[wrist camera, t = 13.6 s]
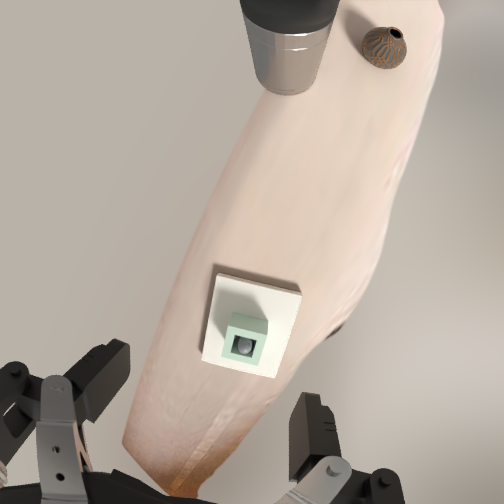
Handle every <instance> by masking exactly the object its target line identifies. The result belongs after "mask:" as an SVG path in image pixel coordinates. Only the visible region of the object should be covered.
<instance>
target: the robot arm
mask: <svg viewBox="0 0 504 504" xmlns="http://www.w3.org/2000/svg"><path fill="white" fill-rule="evenodd" d="M339 1H340V0H240V4H241V8H242V13H243V17H244V21H245V25H246V29H247V34H248V38H249V43H250V48H251V52H252V57H253V62H254V67H255V71H256V75H257V78H258V80H259V82H260V83H261V84H262V85H263V87H265V88H266V89H267V90H269V91H271V92H273V93H276V94H280V95H295V94H299V93H301V92H304V91H305V90H307V89H308V88H309V87H310V86H311V85H312V84H313V82H314V80H315V78H316V74H317V71H318V69H319V65H320V62H321V59H322V56H323V53H324V50H325V46H326V43H327V40H328V37H329V34H330V31H331V27H332V24H333V21H334V17H335V15H336V11H337V8H338V4H339ZM129 373H130V346H129V344H127V343H125V342H122V341H120V340H117V339H112V340H111V341H110V342H109V343H108V344H107V345H106V346H105V345H103V344H101V345H99V346H96V347H94V348H92V349H91V350H90V351H89V352H88V353H87V355H85V356H84V357H82V359H80V360H79V361H78V362H77V363H76V364H75V365H74V366H73V367H71V368H70V369H69V370H68V371H67V372H66V373H65V374H64V375H63V376H60V375H51V376H48V377H47V378H45V379H42V378H39V377H36V376H33V375H30V374H29V370H28V368H27V366H26V365H25V364H23V363H21V362H18V361H14V362H9V363H7V364H6V365H5V366H4V367H2V368H1V369H0V504H216V503H212V502H207V501H203V500H199V499H193V498H181V497H172V496H165V495H163V494H161V493H160V492H158V491H156V490H155V489H153V488H151V487H150V486H148V485H146V484H145V483H143V482H141V481H140V480H139V479H136V478H134V477H131V476H129V475H127V474H124V473H122V472H120V471H118V470H116V469H113V471H112V473H111V474H110V473H105V472H93V469H92V466H91V463H90V459H89V455H88V451H87V446H86V441H85V435H84V428H83V422H84V421H85V420H86V419H87V420H89V421H91V422H92V423H94V422H95V421H96V420H97V418H98V417H99V416H100V415H101V413H102V412H103V411H104V409H105V408H106V407H107V405H108V404H109V403H110V401H111V400H112V399H113V397H114V396H115V395H116V393H117V392H118V391H119V390H120V388H121V387H122V386H123V384H124V383H125V382H126V380H127V379H128V377H129ZM14 402H15V404H14V405H13V407H12V408H11V409H10V410H9V411H8V412H7V413H6V414H5V415H4V413H5V412H6V410H7V409H8V408H9V407H10V406H11V405H12V404H13V403H14ZM3 415H4V416H3ZM35 427H36V444H37V458H38V469H39V477H40V482H39V483H33V484H26V485H18V486H8V487H4V485H5V484H6V483H7V470H6V466H7V464H8V463H9V461H10V460H11V459H12V457H13V456H14V455H15V453H16V452H17V451H18V449H19V448H20V447H21V445H22V444H23V443H24V441H25V440H26V439H27V438H28V436H29V435H30V434H31V433H32V431H33V430H34V429H35ZM289 482H297V485H296V486H295V487H294V488H293V489H292V490H291V491H289V492H288V493H286V494H285V495H284V496H283V497H282V498H281V499H280V500H279V501H277V502H276V503H275V504H405V501H404V496H403V492H402V487H401V483H400V479H399V477H398V475H397V474H396V473H395V472H394V471H392V470H390V469H386V468H381V469H377V470H376V471H374V472H373V473H372V474H368V473H364V472H360V471H356V470H354V469H352V468H351V466H350V464H349V463H348V462H347V461H346V460H345V459H343V458H342V457H341V450H340V445H339V440H338V435H337V432H336V425H335V419H334V415H333V413H332V411H331V410H330V409H329V407H328V406H323V405H321V400H320V395H319V394H314V393H307V392H302V394H301V395H300V397H299V400H298V402H297V404H296V406H295V408H294V410H293V412H292V414H291V417H290V421H289Z"/></svg>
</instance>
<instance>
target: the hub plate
mask: <svg viewBox="0 0 504 504" xmlns="http://www.w3.org/2000/svg"><path fill="white" fill-rule="evenodd" d="M301 299H302V293H301V292H297V291H293V290H288V289H284V288H280V287H275V286H271V285H267V284H263V283H259V282H255V281H251V280H246V279H242V278H238V277H234V276H230V275H226V274H222V273H218V274H217V277H216V282H215V287H214V292H213V298H212V303H211V308H210V314H209V319H208V325H207V330H206V336H205V342H204V348H203V353H202V359H201V360H202V361H205V362H209V363H212V364H216V365H220V366H223V367H227V368H231V369H235V370H239V371H244V372H248V373H252V374H257V375H261V376H266V377H271V378H275V376H276V373H277V371H278V368H279V365H280V362H281V359H282V357H283V354H284V351H285V348H286V345H287V342H288V339H289V336H290V333H291V330H292V327H293V324H294V321H295V318H296V315H297V312H298V309H299V305H300V302H301ZM233 312H235V313H238V314H242V315H246V316H250V317H254V318H258V319H262V320H267V321H269V323H268V334H267V338H266V342H265V345H264V348H263V351H262V354H261V358H260V361H259V364H258V366H256V365H252V364H248V363H243V362H239V361H235V360H231V359H228V358H224V357H221V355H222V350H223V346H224V341H225V337H226V332H227V328H228V324H229V322H230V319H231V316H232V314H233ZM235 338H238V339H239V343H238V350H239V352H240V353H243V354H247V353H249V352H250V351H251V348H252V343H253V342H255V340H254V339H250V338H246V337H242V336H238V335H235Z"/></svg>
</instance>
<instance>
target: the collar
mask: <svg viewBox="0 0 504 504" xmlns="http://www.w3.org/2000/svg"><path fill="white" fill-rule="evenodd" d="M268 323H269V321H267V320H262V319H258V318H254V317H250V316H246V315H242V314H238V313H235V312H233V314H232V316H231V319H230V322H229V324H228V328H227V332H226V337H225V341H224V346H223V350H222V355H221V357H224V358H228V359H231V360H235V361H239V362H243V363H248V364H252V365H256V366H258V364H259V361H260V358H261V354H262V351H263V348H264V345H265V342H266V338H267V334H268ZM235 335H238V336H242V337H246V338H250V339H254V340H255V342H253V343H252V348H251V351H250V352H249V353H247V354H243V353H240V352H239V350H238V343H239V339H238V338H235Z"/></svg>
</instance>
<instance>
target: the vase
mask: <svg viewBox="0 0 504 504" xmlns="http://www.w3.org/2000/svg"><path fill="white" fill-rule="evenodd" d="M362 50H363V53H364V56H365V57H366V59H367V60H368V61H369V62H370V63H371V64H373V65H374V66H376V67H378V68H382V69H391V68H395V67H397V66H398V65H400V64H401V63H402V62H403V60H404V59H405V56H406V52H407V47H406V43H405V41H404V39H403V34H402V32H401V31H400V30H399V29H397V28H395V27H389V28H387V27H377V28H374V29H372V30H371V31H369V32H368V33H367V34H366V35H365V37H364V39H363V43H362Z"/></svg>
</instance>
